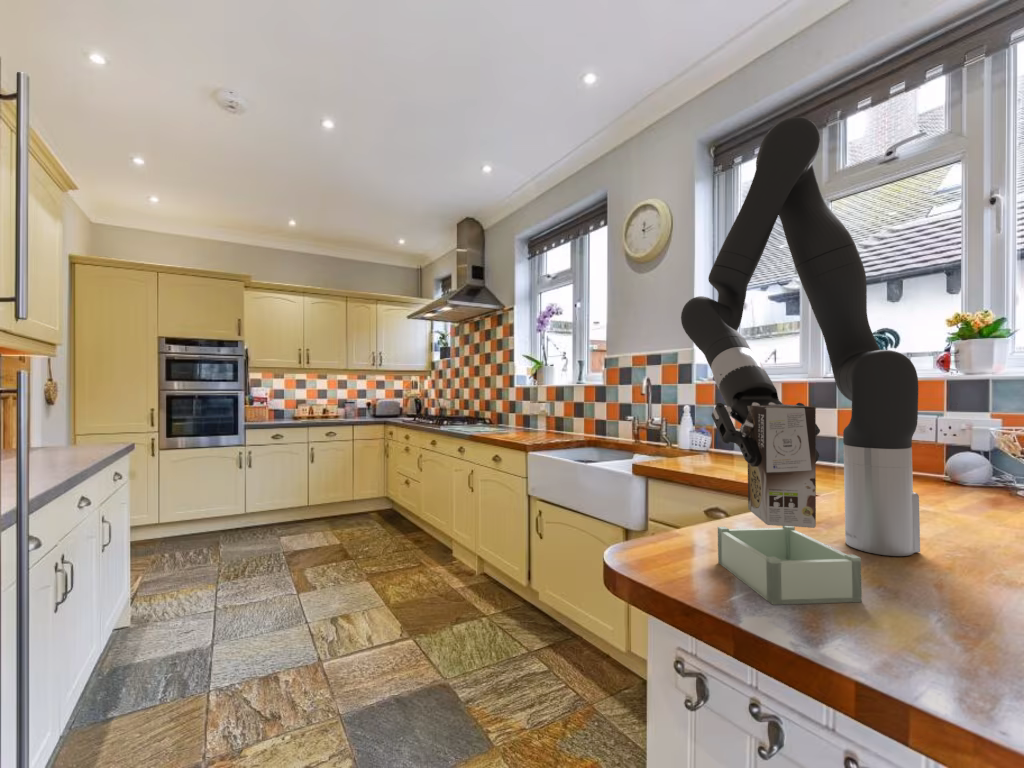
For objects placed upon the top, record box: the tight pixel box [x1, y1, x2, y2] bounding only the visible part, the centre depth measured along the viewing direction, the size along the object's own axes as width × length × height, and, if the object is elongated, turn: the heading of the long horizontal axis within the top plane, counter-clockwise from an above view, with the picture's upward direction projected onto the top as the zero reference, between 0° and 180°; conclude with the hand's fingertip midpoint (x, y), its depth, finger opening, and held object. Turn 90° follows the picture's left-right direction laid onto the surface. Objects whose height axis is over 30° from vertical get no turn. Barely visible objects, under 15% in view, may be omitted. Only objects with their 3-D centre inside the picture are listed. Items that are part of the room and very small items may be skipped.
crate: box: [717, 526, 863, 606], centre depth 68 cm, size 12×15×6 cm
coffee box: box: [747, 404, 817, 529], centre depth 68 cm, size 9×6×16 cm
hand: (785, 463), depth 67 cm, fingers closed on coffee box, 7 cm apart
